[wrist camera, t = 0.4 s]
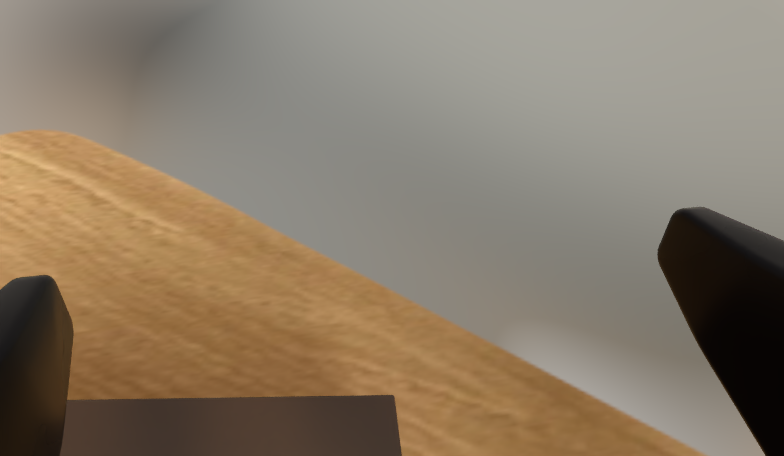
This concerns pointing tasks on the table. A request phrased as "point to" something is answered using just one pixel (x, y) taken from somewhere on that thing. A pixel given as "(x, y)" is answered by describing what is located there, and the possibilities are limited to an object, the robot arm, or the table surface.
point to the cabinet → (233, 427)
